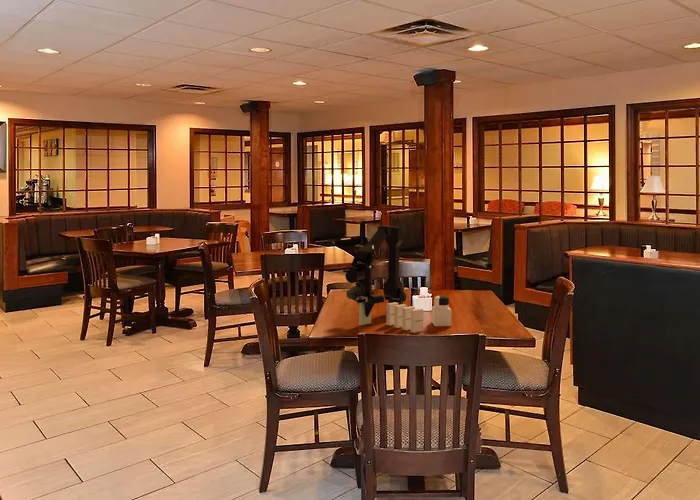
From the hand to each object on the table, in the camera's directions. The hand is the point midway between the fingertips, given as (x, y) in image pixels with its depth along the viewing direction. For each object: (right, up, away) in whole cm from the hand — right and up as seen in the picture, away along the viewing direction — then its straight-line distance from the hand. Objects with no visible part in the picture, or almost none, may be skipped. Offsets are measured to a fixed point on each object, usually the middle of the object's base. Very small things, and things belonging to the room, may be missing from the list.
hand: (365, 316), depth 262 cm
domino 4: (+21, -5, -10) cm, 24 cm away
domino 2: (+15, -4, -2) cm, 15 cm away
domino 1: (+12, -4, +2) cm, 12 cm away
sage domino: (0, -3, 0) cm, 3 cm away
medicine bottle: (+32, -4, +1) cm, 32 cm away
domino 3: (+18, -5, -6) cm, 19 cm away
